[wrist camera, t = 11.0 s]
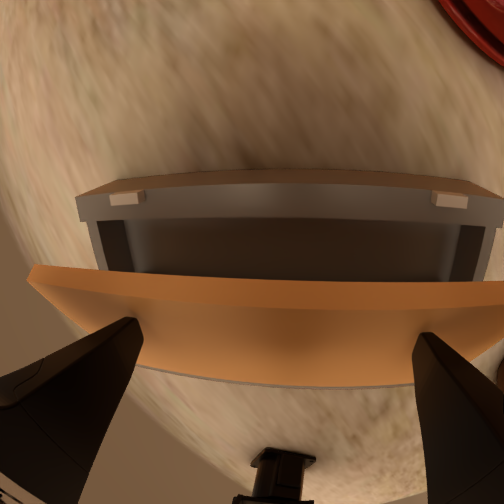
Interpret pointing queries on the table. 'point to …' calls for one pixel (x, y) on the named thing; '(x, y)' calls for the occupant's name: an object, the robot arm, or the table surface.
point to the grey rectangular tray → (294, 225)
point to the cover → (280, 324)
